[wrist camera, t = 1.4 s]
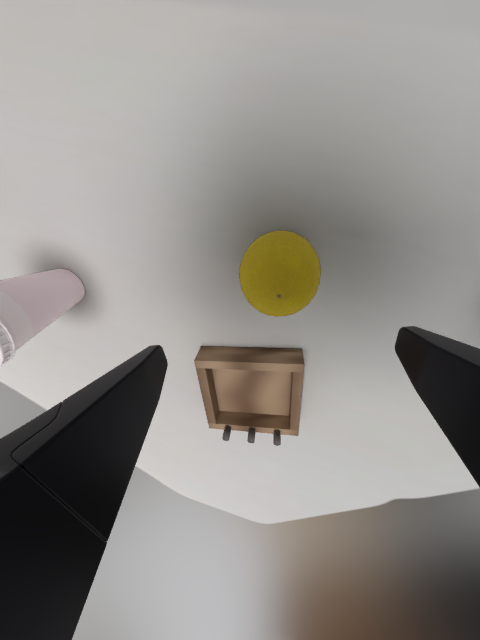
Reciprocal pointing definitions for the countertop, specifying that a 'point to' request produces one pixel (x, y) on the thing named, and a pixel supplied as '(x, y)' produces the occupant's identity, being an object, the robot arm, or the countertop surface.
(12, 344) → the smoothie
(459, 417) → the robot arm
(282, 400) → the tray
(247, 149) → the countertop surface
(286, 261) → the lemon
